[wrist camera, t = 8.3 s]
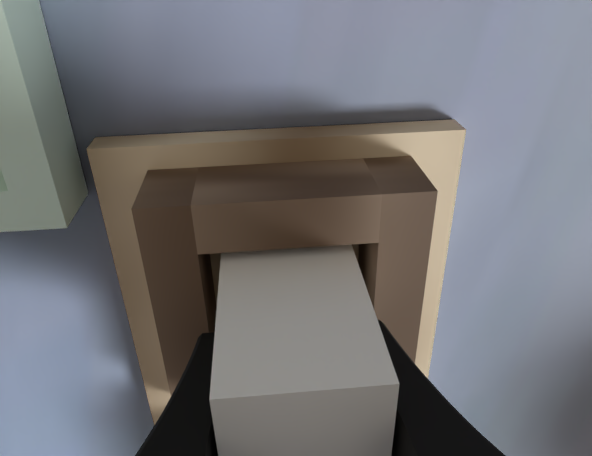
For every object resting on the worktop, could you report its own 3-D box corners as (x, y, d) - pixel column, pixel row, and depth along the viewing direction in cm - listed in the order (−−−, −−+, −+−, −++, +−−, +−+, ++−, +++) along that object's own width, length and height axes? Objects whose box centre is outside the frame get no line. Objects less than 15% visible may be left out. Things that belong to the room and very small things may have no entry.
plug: (237, 367, 14) (233, 552, 10) (222, 235, 12) (209, 400, 8) (341, 359, 14) (382, 537, 10) (345, 227, 12) (399, 383, 8)
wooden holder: (189, 541, 21) (182, 618, 19) (95, 137, 12) (58, 186, 10) (397, 520, 22) (416, 593, 19) (454, 119, 13) (502, 161, 10)
